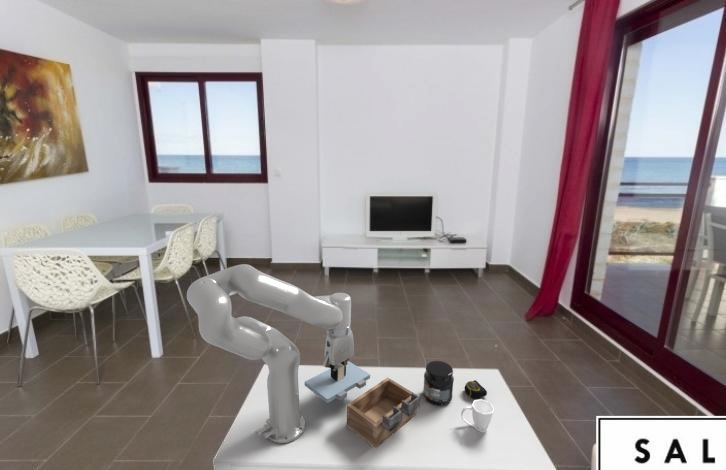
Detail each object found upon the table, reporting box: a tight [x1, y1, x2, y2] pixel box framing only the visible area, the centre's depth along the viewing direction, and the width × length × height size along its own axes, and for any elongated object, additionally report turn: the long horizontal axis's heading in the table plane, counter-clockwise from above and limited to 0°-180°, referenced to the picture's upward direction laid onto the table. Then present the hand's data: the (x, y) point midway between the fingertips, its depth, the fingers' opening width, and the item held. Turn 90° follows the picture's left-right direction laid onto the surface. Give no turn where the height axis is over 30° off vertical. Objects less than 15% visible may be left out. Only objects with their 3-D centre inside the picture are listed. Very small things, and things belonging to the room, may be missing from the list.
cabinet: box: [346, 377, 421, 449], centre depth 118 cm, size 20×16×10 cm
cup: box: [460, 398, 495, 433], centre depth 116 cm, size 7×10×8 cm
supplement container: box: [422, 360, 455, 407], centre depth 130 cm, size 10×10×12 cm
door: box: [304, 360, 371, 404], centre depth 126 cm, size 20×14×6 cm
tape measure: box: [464, 379, 488, 400], centre depth 132 cm, size 7×7×4 cm
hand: (338, 376), depth 127 cm, fingers closed on door, 3 cm apart
